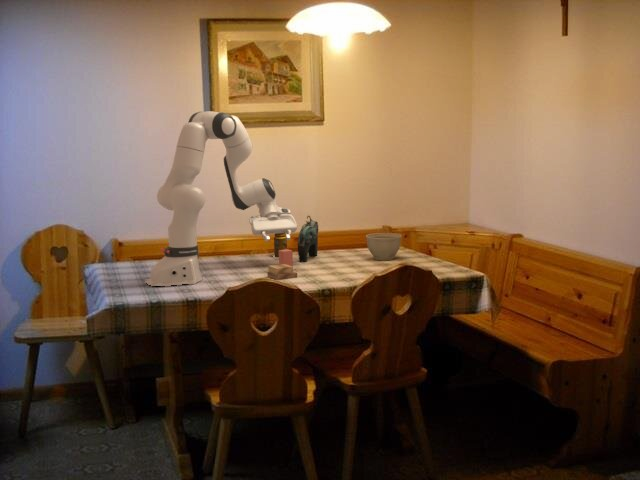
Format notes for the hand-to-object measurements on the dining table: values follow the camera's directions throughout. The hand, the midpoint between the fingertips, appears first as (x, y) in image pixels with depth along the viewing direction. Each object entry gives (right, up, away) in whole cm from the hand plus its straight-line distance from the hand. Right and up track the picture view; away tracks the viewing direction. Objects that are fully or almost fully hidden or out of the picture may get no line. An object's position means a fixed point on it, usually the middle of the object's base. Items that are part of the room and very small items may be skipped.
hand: (278, 240), depth 331 cm
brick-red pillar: (+4, -13, -6) cm, 15 cm away
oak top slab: (+2, -13, -19) cm, 23 cm away
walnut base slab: (+3, -16, -18) cm, 24 cm away
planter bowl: (+47, -9, +20) cm, 52 cm away
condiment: (-1, -8, +32) cm, 33 cm away
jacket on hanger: (+13, -9, +23) cm, 28 cm away
